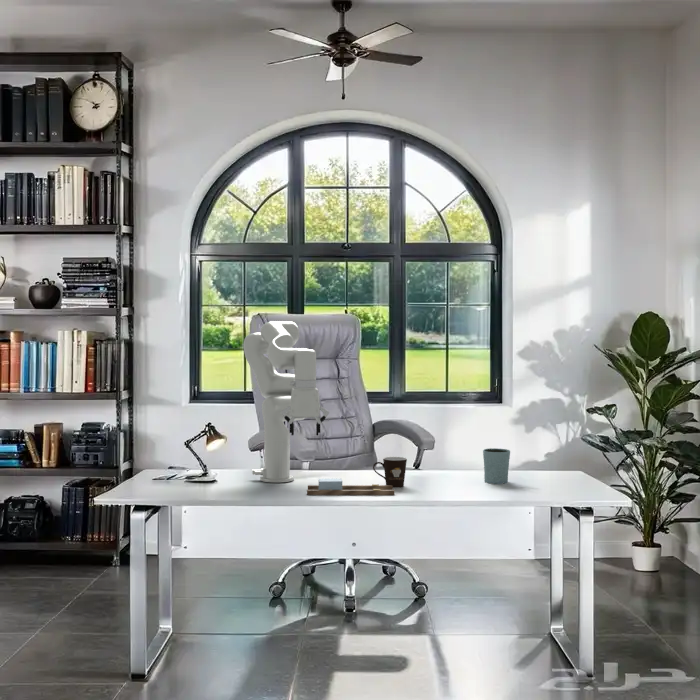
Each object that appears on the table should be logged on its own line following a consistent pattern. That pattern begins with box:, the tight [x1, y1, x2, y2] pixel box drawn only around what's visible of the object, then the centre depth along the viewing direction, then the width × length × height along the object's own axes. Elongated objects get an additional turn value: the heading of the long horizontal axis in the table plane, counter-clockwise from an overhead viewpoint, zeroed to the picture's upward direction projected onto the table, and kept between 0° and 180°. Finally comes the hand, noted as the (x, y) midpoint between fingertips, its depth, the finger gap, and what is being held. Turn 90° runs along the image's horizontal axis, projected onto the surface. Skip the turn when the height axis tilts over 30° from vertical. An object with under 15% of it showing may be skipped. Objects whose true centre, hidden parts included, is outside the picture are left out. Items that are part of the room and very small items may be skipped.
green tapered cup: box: [482, 447, 511, 485], centre depth 338 cm, size 10×10×12 cm
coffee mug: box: [372, 456, 408, 488], centre depth 329 cm, size 12×9×10 cm
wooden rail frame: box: [306, 483, 395, 496], centre depth 316 cm, size 30×10×2 cm, turn 91°
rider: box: [318, 477, 343, 490], centre depth 315 cm, size 8×6×4 cm
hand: (305, 434), depth 315 cm, fingers open, 8 cm apart
